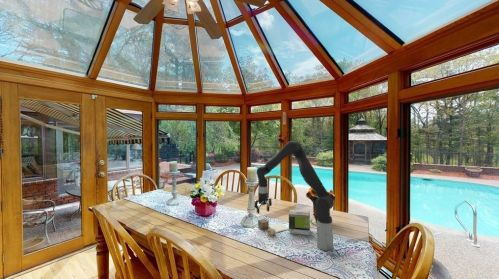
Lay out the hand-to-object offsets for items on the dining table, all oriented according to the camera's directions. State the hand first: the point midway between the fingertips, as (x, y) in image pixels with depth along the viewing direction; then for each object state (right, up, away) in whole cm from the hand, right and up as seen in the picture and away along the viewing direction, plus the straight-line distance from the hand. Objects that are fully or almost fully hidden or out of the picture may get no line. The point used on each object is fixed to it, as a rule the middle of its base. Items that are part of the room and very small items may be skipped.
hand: (263, 212), depth 177 cm
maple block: (+5, -13, -12) cm, 18 cm away
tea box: (+27, -13, -7) cm, 30 cm away
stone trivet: (+12, -12, 0) cm, 17 cm away
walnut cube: (0, -13, 0) cm, 13 cm away
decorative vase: (+48, -12, +10) cm, 50 cm away
